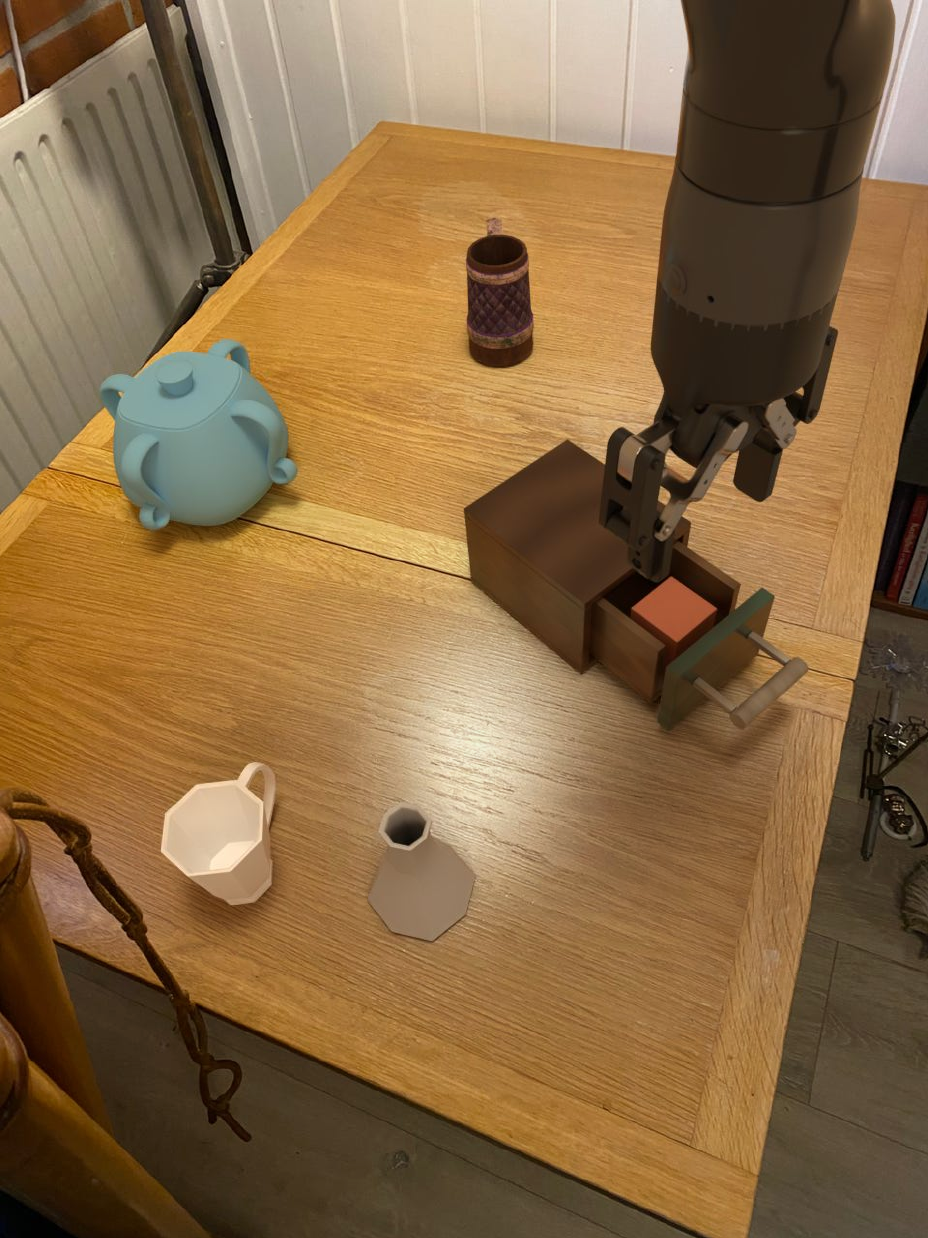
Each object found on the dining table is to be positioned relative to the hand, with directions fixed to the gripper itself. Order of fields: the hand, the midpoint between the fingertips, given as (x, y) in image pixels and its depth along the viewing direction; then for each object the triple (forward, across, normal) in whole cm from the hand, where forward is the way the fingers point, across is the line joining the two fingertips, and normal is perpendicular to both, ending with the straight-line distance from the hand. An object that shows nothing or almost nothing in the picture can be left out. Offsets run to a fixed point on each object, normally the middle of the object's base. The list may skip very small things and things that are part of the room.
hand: (701, 530), depth 53 cm
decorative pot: (+24, -9, +50) cm, 56 cm away
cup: (+24, -28, +14) cm, 39 cm away
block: (+22, +6, +5) cm, 24 cm away
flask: (+24, -20, +4) cm, 32 cm away
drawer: (+23, +6, +4) cm, 24 cm away
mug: (+24, +26, +46) cm, 58 cm away
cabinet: (+24, +6, +16) cm, 29 cm away
